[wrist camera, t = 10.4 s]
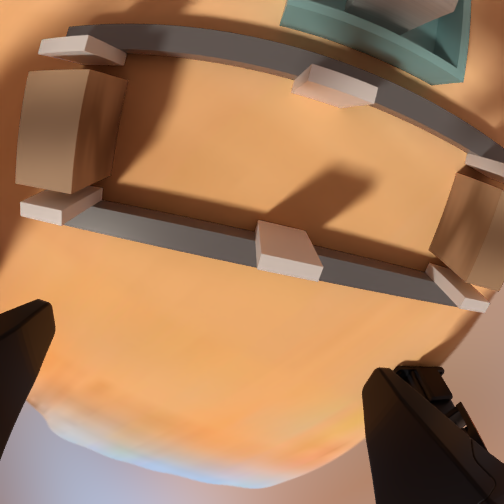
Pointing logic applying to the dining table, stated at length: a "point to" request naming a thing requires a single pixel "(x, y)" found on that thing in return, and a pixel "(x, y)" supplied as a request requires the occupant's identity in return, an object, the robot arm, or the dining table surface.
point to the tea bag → (400, 12)
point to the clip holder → (266, 234)
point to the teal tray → (391, 38)
